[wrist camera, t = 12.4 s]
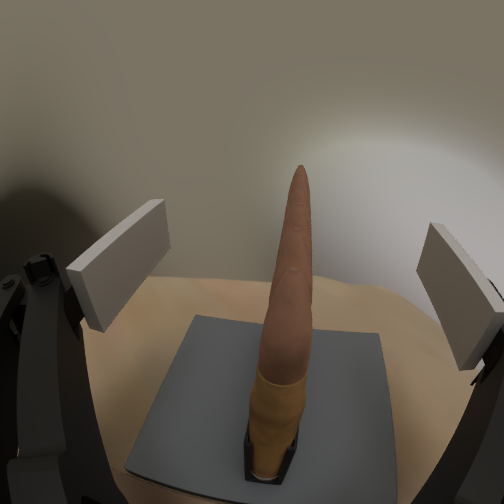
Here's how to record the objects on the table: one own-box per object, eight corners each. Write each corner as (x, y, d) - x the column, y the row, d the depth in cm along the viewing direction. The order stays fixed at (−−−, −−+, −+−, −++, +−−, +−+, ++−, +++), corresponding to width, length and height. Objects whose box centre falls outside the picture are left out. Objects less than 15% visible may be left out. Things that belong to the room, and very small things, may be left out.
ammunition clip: (281, 485, 10) (350, 306, 4) (244, 481, 10) (232, 294, 4) (298, 338, 19) (320, 162, 13) (272, 335, 20) (282, 159, 14)
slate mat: (130, 473, 11) (123, 468, 10) (196, 324, 22) (195, 314, 21) (389, 506, 9) (397, 503, 8) (375, 342, 20) (378, 333, 19)
